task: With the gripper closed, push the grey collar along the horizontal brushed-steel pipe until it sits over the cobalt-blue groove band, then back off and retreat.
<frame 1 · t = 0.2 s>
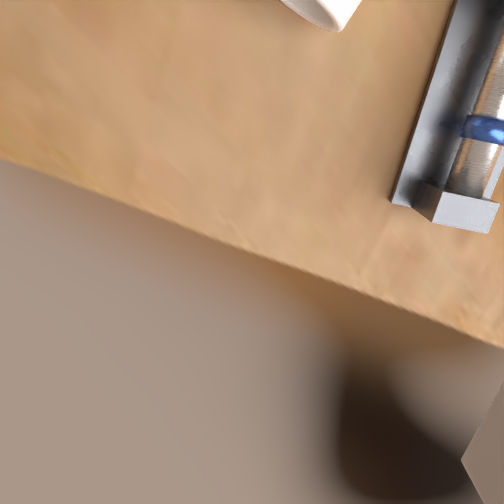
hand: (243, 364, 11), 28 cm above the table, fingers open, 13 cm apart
pipe rig: (486, 62, 33), on the table
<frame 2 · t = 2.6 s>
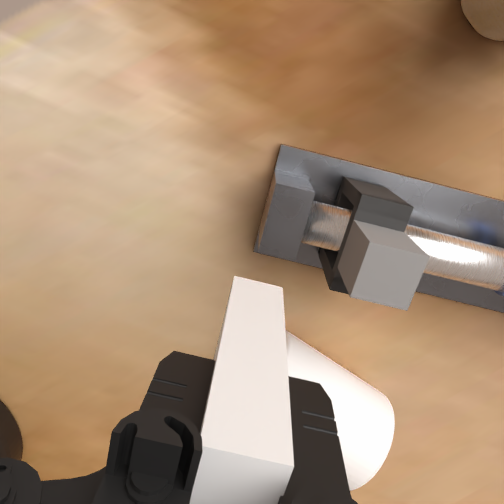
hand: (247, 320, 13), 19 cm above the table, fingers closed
pipe rig: (425, 237, 31), on the table
mug: (289, 389, 36), on the table
collar: (366, 244, 25), point 6 cm above the table, slide at 0.0 cm
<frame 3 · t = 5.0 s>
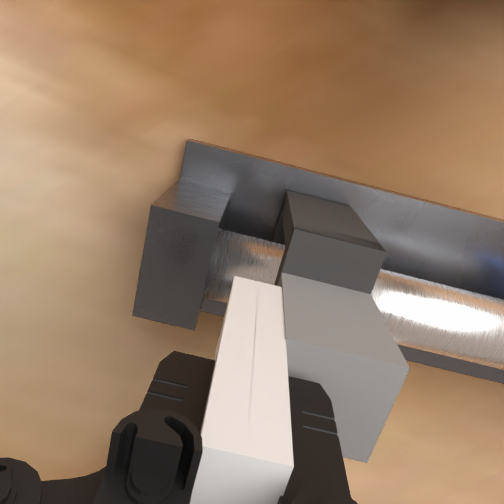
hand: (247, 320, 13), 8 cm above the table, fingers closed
pipe rig: (413, 280, 21), on the table
collar: (310, 309, 15), point 6 cm above the table, slide at 0.1 cm, touching gripper
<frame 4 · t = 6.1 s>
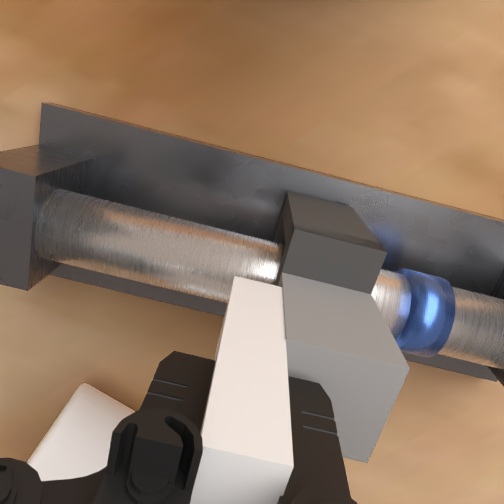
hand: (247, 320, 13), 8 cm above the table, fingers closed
pipe rig: (290, 250, 21), on the table
mug: (126, 459, 26), on the table
collar: (310, 309, 15), point 6 cm above the table, slide at 6.5 cm, touching gripper
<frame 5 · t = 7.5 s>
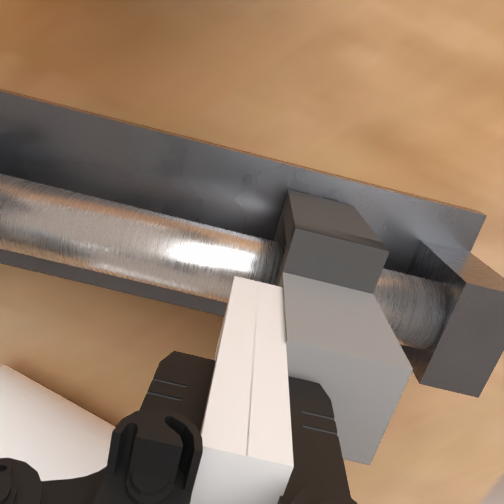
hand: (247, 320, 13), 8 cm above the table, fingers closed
pipe rig: (204, 228, 20), on the table
mug: (58, 444, 26), on the table
collar: (311, 309, 15), point 6 cm above the table, slide at 10.8 cm, touching gripper
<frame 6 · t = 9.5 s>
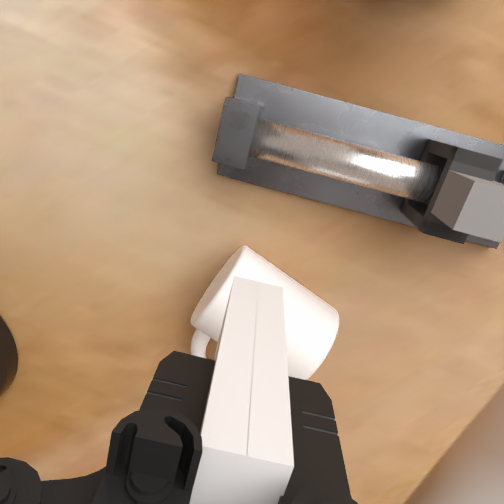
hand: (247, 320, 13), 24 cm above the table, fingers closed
pipe rig: (372, 163, 34), on the table
mug: (254, 309, 40), on the table
collar: (455, 194, 29), point 6 cm above the table, slide at 10.8 cm
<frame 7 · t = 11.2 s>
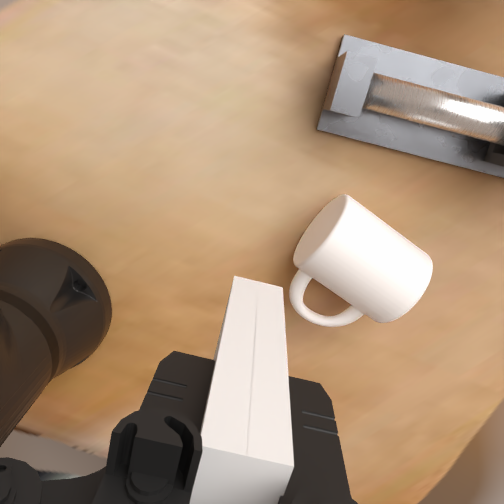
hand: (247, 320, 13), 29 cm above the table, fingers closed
pipe rig: (457, 118, 38), on the table
mug: (339, 259, 44), on the table
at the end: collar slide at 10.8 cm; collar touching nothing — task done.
